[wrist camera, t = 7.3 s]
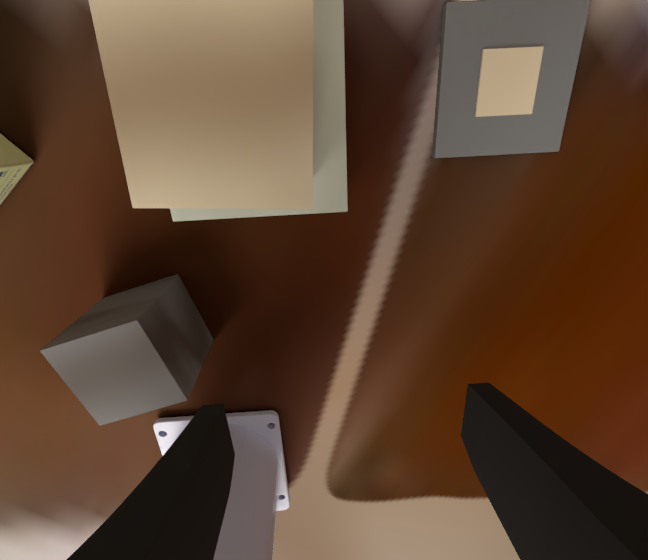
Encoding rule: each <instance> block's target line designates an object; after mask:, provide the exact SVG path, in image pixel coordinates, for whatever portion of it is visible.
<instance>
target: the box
mask: <svg viewBox="0 0 648 560" xmlns="http://www.w3.org/2000/svg"><path fill="white" fill-rule="evenodd" d="M33 163H34V161H33V160H32V159H31V158H30V157H29V156H27V155H26V154H25V153H24V152H22V151H21V150H20V149H19V148H18V147H16V146H15V145H14V144H12V143H11V142H10V141H9V140H8V139H7V138H5V137H4V136H3V135H2V134H0V205H1V204H2V203H3V201H4V200H5V199H6V197H7V196H8V195H9V194H10V192H11V191H12V190H13V189H14V187H15V186H16V185H17V183H18V182H19V181H20V179H21V178H22V177H23V175H24V174H25V173H26V172H27V170H28V169H29V168H30V166H31V165H32V164H33Z"/></svg>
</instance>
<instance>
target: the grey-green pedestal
mask: <svg viewBox="0 0 648 560" xmlns="http://www.w3.org/2000/svg"><path fill="white" fill-rule="evenodd" d="M170 211H171V215H172V220H173V222H174V221H191V220H209V219H226V218H244V217H261V216H278V215H296V214H313V213H331V212H348V206H347V156H346V107H345V57H344V7H343V0H313V209H207V208H170Z"/></svg>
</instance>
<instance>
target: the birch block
mask: <svg viewBox="0 0 648 560" xmlns="http://www.w3.org/2000/svg"><path fill="white" fill-rule="evenodd" d="M89 5H90V9H91V14H92V19H93V24H94V28H95V33H96V38H97V42H98V47H99V52H100V57H101V61H102V66H103V71H104V76H105V80H106V85H107V90H108V94H109V99H110V104H111V109H112V113H113V118H114V123H115V127H116V132H117V137H118V142H119V146H120V151H121V156H122V161H123V165H124V170H125V175H126V179H127V184H128V189H129V194H130V198H131V203H132V208H207V209H313V0H89Z"/></svg>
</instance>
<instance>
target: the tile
mask: <svg viewBox="0 0 648 560" xmlns="http://www.w3.org/2000/svg"><path fill="white" fill-rule="evenodd" d="M590 2H591V0H484V1H462V2H446V3H445V4H444V5H443V15H442V29H441V43H440V56H439V70H438V84H437V97H436V110H435V124H434V138H433V151H432V158H449V157H468V156H486V155H504V154H522V153H541V152H559V148H560V143H561V139H562V134H563V129H564V125H565V120H566V115H567V110H568V106H569V101H570V96H571V92H572V87H573V82H574V77H575V73H576V68H577V63H578V59H579V54H580V49H581V44H582V40H583V35H584V30H585V26H586V21H587V16H588V11H589V7H590Z"/></svg>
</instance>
